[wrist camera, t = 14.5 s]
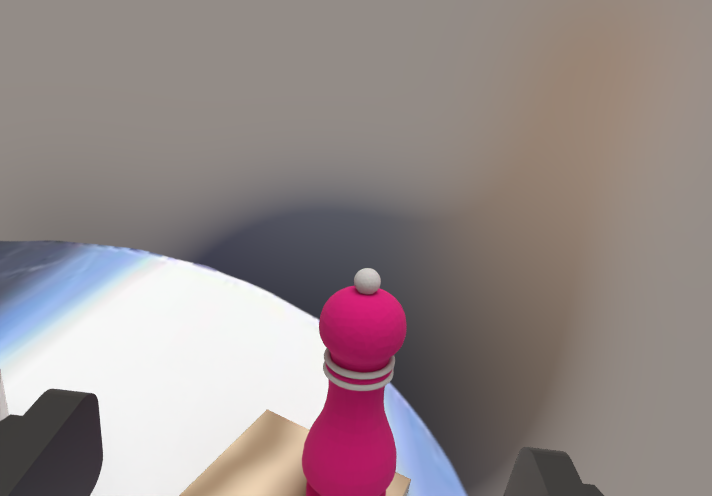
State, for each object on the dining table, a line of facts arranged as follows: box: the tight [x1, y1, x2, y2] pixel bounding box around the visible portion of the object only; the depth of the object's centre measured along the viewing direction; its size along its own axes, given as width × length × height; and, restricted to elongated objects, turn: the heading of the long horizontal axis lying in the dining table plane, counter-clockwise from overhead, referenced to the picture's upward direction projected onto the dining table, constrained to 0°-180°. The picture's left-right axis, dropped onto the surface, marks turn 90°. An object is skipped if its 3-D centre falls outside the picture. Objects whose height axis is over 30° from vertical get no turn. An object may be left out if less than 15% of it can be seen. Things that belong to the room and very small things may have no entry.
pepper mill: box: [302, 268, 406, 496], centre depth 36 cm, size 7×7×20 cm
